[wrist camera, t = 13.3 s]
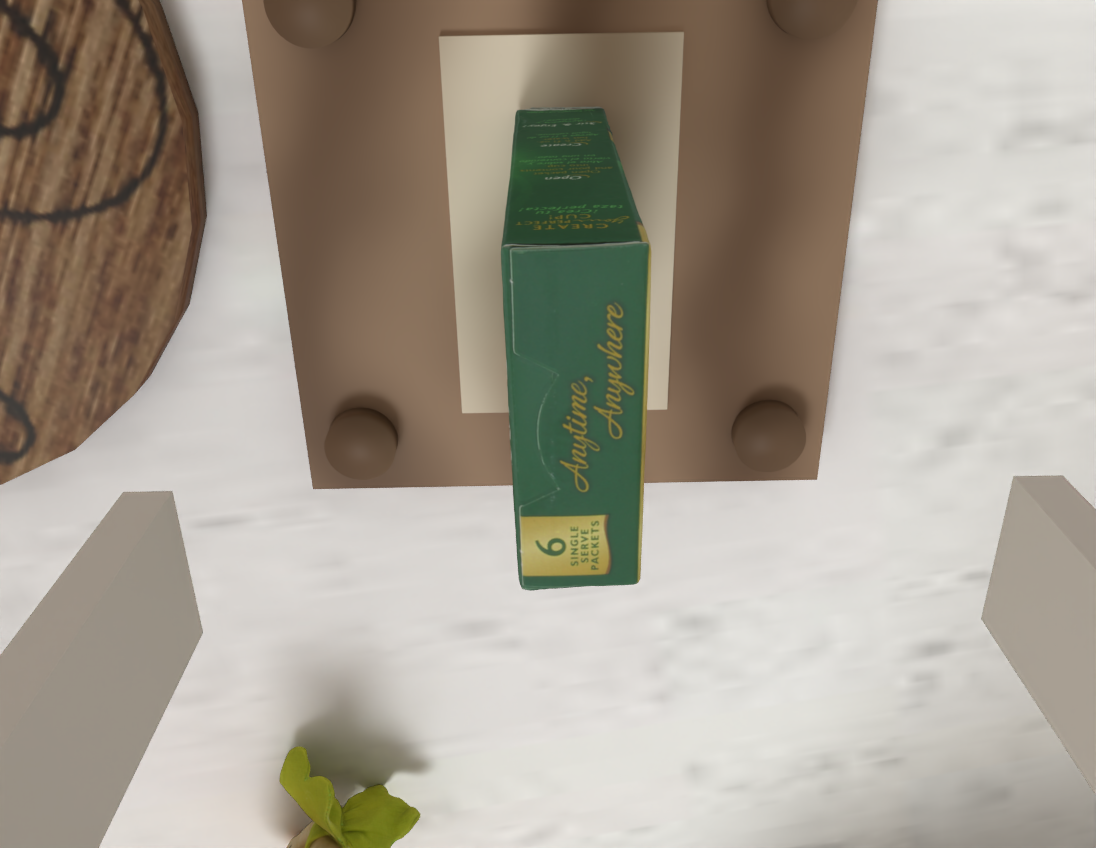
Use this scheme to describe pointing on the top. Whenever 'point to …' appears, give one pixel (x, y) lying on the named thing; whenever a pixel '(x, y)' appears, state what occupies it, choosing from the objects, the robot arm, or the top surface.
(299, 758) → the bird rattle
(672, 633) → the top surface
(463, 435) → the base plate
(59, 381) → the trivet
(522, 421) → the coffee box
